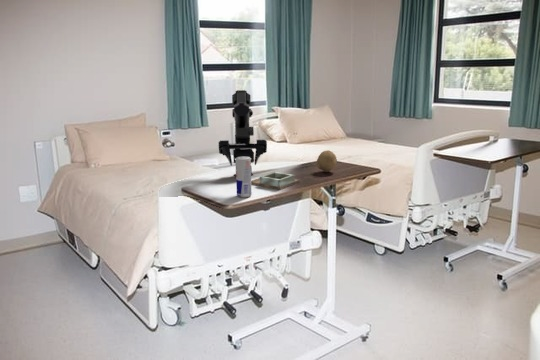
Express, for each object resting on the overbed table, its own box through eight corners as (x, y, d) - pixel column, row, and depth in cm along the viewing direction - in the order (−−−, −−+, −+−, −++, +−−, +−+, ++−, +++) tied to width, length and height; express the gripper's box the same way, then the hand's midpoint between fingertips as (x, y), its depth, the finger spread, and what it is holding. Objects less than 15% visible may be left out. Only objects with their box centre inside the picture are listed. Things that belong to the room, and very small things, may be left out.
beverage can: (251, 193, 187) (250, 155, 183) (251, 198, 181) (250, 158, 178) (237, 194, 187) (235, 156, 183) (236, 198, 181) (235, 159, 178)
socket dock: (248, 183, 202) (248, 175, 201) (268, 177, 213) (268, 168, 212) (280, 189, 193) (280, 180, 192) (299, 182, 204) (299, 173, 203)
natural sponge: (340, 173, 218) (341, 151, 216) (324, 175, 215) (324, 153, 212) (330, 169, 226) (330, 148, 224) (313, 171, 223) (313, 149, 220)
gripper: (217, 119, 186) (217, 153, 178) (266, 118, 187) (268, 152, 179) (219, 137, 195) (219, 169, 187) (265, 136, 197) (267, 168, 188)
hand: (243, 164), depth 185 cm, fingers open, 9 cm apart
